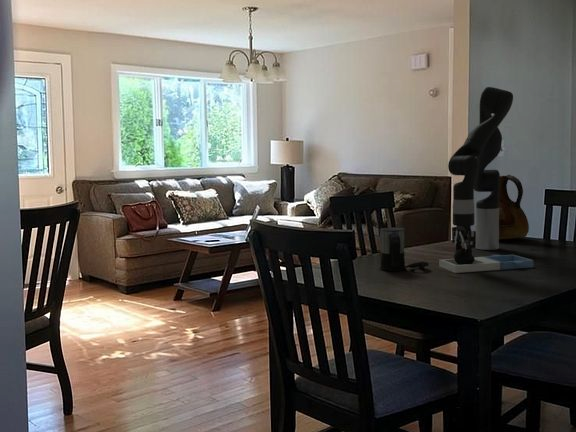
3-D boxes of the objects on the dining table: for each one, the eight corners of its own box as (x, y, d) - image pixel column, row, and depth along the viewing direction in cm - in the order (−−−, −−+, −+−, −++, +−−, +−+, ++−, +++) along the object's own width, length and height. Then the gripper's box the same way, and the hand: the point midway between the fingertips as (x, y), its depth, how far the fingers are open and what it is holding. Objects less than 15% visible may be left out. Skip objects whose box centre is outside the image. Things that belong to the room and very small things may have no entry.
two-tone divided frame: (436, 265, 241) (436, 258, 241) (510, 260, 247) (510, 253, 247) (457, 273, 225) (457, 266, 225) (536, 268, 231) (536, 260, 231)
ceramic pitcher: (492, 235, 314) (492, 173, 311) (535, 238, 301) (535, 173, 298) (475, 241, 299) (475, 175, 296) (519, 244, 286) (520, 175, 283)
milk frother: (375, 267, 241) (374, 228, 239) (413, 264, 245) (413, 225, 244) (393, 274, 227) (392, 232, 225) (433, 270, 232) (433, 229, 230)
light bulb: (480, 257, 227) (455, 244, 233) (472, 273, 229) (448, 260, 234) (487, 258, 233) (462, 245, 238) (479, 274, 234) (455, 261, 239)
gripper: (483, 213, 226) (483, 260, 228) (463, 209, 240) (463, 253, 242) (463, 214, 225) (463, 261, 227) (444, 210, 239) (445, 255, 241)
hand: (463, 257), depth 234 cm, fingers closed on light bulb, 7 cm apart
